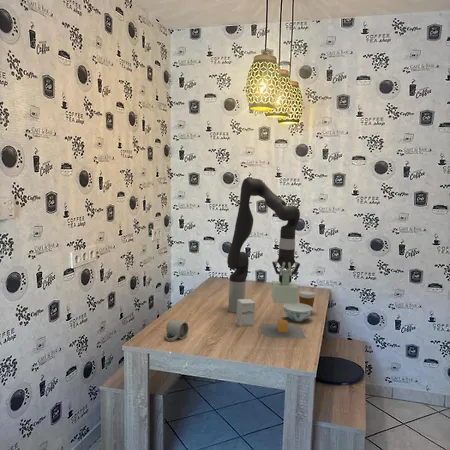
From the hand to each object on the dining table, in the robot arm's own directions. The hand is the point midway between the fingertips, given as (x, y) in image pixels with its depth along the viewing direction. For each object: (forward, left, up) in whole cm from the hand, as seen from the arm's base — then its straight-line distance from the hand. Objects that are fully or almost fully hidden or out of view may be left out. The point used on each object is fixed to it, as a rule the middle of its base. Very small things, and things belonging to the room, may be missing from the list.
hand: (285, 282), depth 209 cm
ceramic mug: (-51, -12, -25) cm, 58 cm away
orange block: (0, 0, -24) cm, 24 cm away
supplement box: (-18, +9, -25) cm, 32 cm away
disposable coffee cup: (+17, +32, -25) cm, 44 cm away
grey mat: (0, 0, -25) cm, 25 cm away
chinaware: (+10, +18, -25) cm, 33 cm away
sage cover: (0, 0, -9) cm, 9 cm away
